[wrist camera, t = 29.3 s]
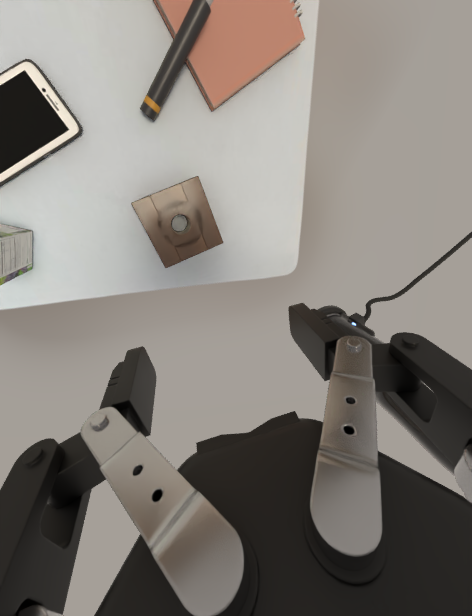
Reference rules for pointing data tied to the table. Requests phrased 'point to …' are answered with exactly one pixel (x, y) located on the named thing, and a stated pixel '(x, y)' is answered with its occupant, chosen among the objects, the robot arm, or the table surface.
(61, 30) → the table surface
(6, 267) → the syrup box
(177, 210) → the pen stand
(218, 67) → the notebook
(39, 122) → the cell phone
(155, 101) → the stylus
